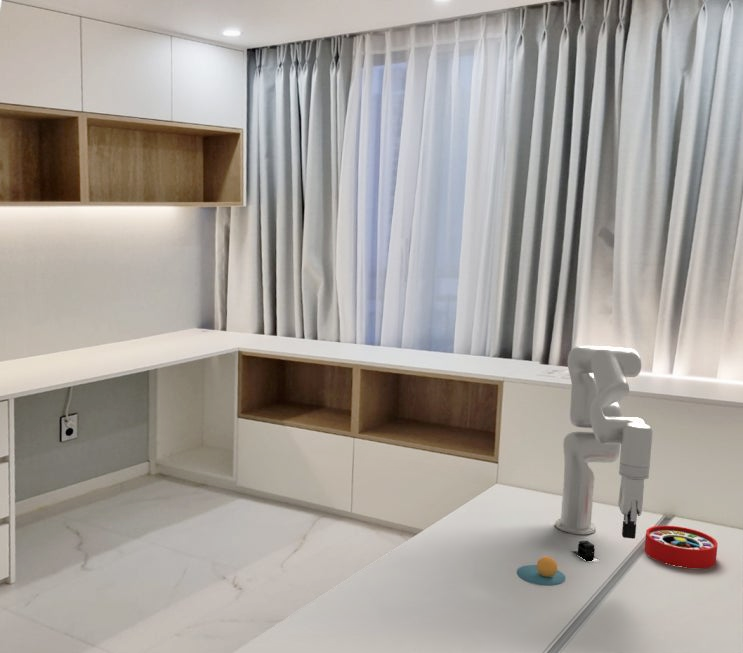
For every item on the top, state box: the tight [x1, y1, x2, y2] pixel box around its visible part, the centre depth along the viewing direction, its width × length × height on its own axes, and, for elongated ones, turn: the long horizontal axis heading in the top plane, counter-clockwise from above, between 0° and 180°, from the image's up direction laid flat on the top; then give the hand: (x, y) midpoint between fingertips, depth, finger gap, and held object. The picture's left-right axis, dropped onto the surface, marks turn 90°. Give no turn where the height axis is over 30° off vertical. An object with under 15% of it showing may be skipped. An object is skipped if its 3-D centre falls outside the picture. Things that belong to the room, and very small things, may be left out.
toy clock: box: [644, 525, 718, 569], centre depth 234 cm, size 20×6×20 cm
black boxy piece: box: [570, 540, 599, 562], centre depth 230 cm, size 12×7×5 cm, turn 18°
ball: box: [536, 555, 558, 577], centre depth 214 cm, size 6×6×6 cm
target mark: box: [516, 564, 566, 586], centre depth 214 cm, size 13×13×1 cm
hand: (628, 536), depth 209 cm, fingers closed
